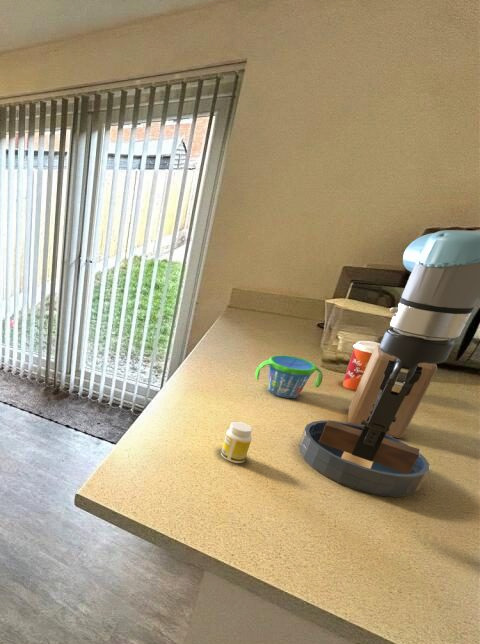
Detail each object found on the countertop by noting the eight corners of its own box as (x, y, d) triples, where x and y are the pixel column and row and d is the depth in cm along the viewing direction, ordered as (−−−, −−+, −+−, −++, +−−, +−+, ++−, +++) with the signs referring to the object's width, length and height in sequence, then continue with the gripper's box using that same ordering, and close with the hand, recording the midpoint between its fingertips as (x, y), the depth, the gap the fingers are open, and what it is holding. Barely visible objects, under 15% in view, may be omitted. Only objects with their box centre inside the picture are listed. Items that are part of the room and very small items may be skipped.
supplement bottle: (248, 458, 90) (258, 427, 86) (239, 466, 87) (249, 435, 84) (225, 447, 93) (234, 418, 90) (216, 455, 91) (225, 425, 87)
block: (402, 440, 95) (440, 366, 87) (346, 425, 101) (377, 354, 93) (399, 423, 101) (434, 352, 93) (347, 409, 108) (376, 342, 100)
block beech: (365, 476, 83) (374, 459, 81) (361, 486, 80) (370, 469, 78) (337, 466, 86) (345, 449, 84) (333, 475, 83) (340, 458, 82)
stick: (409, 467, 68) (420, 449, 66) (408, 474, 66) (419, 455, 65) (321, 437, 76) (328, 419, 75) (318, 442, 75) (325, 424, 73)
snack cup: (253, 395, 116) (262, 364, 112) (248, 380, 124) (257, 351, 120) (320, 407, 109) (333, 374, 105) (310, 390, 118) (321, 360, 114)
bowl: (419, 467, 86) (431, 447, 84) (414, 514, 74) (427, 491, 72) (307, 429, 99) (314, 411, 97) (288, 464, 88) (295, 444, 85)
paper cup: (339, 388, 118) (357, 346, 113) (336, 379, 124) (352, 338, 119) (375, 396, 114) (395, 352, 109) (369, 385, 120) (388, 343, 114)
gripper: (392, 316, 69) (343, 428, 78) (382, 338, 60) (328, 462, 69) (457, 327, 64) (396, 445, 73) (457, 352, 55) (387, 484, 64)
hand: (363, 453), depth 71 cm, fingers closed on stick, 2 cm apart
